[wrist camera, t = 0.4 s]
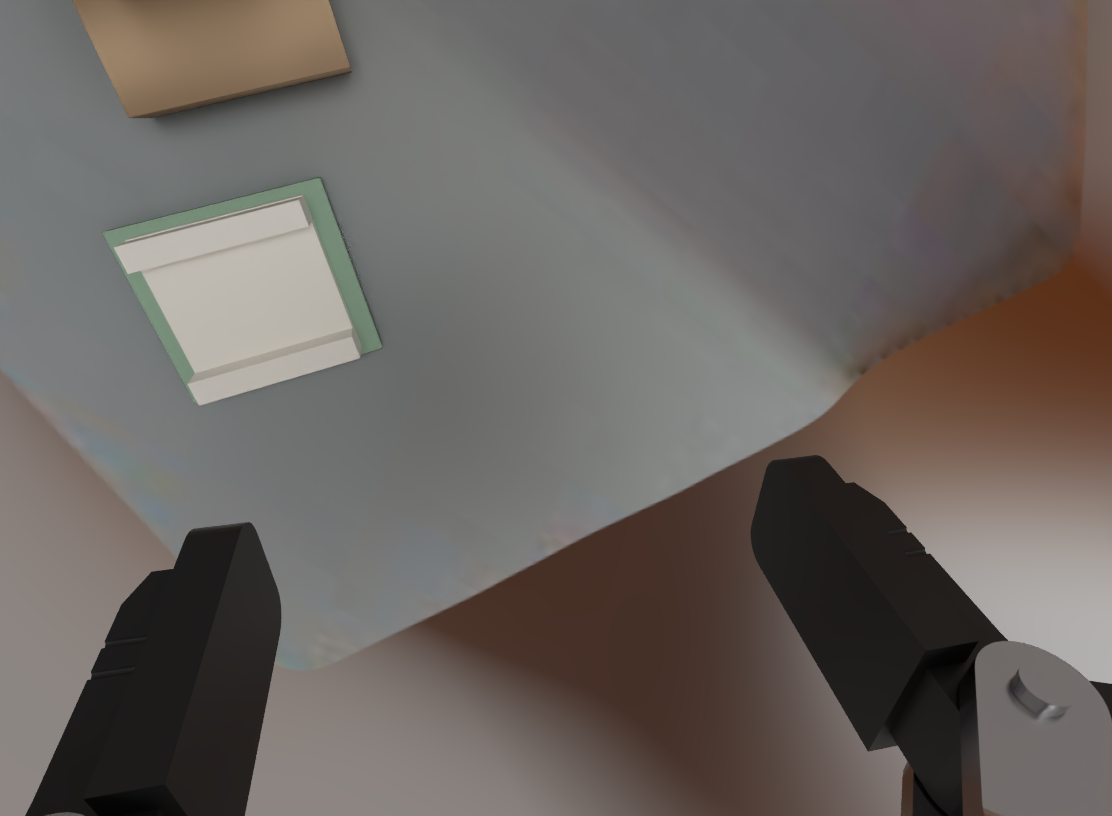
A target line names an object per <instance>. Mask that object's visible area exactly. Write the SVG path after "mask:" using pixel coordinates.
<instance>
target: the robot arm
mask: <svg viewBox="0 0 1112 816" xmlns="http://www.w3.org/2000/svg"><path fill="white" fill-rule="evenodd" d="M906 528H907V527H906V526H905V525H904V524H903V523H902V522H901V521H900V519H898V517H897V516H896V515H895V514H894V513H893V511H892V510H891V509H890V508H889V507H888V506H887V505H886V504H885V503H884V502H883V501H881V500H880V499H878V498H877V497H875V496H874V495H872V494H871V493H869V492H868V491H866V490H865V489H863V488H862V487H860V486H859V485H857V484H856V483H853V482H852V483H845V482H844V481H843V480H842V478H841V477H840V476H839V475H838V474H837V473H836V471H835V470H834V469H833V468H832V467H831V466H830V464H829V463H828V462H827V461H826V460H825V459H824V458H822V457H821V456H818V455H813V456H805V457H797V458H788V459H781V460H773V461H772V462H770V463H769V465H768V466H767V469H766V472H765V475H764V480H763V483H762V487H761V491H760V495H759V499H758V502H757V506H756V510H755V514H754V518H753V521H752V526H751V543H752V548H753V552H754V555H755V558H756V560H757V562H758V564H759V566H760V568H761V570H762V571H763V573H764V575H765V576H766V578H767V580H768V582H769V583H770V585H771V586H772V588H773V590H774V592H775V593H776V595H777V597H778V599H779V600H780V602H781V604H782V605H783V607H784V609H785V611H786V612H787V614H788V615H789V617H790V619H791V621H792V622H793V624H794V626H795V628H796V629H797V631H798V633H799V634H800V636H801V638H802V640H803V641H804V643H805V645H806V646H807V648H808V650H809V651H810V653H811V655H812V657H813V658H814V660H815V662H816V663H817V665H818V667H819V668H820V670H821V672H822V674H823V675H824V677H825V679H826V680H827V682H828V684H829V686H830V687H831V689H832V690H833V692H834V694H835V696H836V698H837V699H838V701H839V703H840V704H841V706H842V708H843V709H844V711H845V713H846V715H847V716H848V718H849V720H850V721H851V723H852V725H853V727H854V728H855V730H856V732H857V733H858V735H859V737H860V739H861V740H862V742H863V744H864V745H865V747H866V749H867V750H868V751H873V750H878V749H883V748H887V747H892V746H897V745H898V746H899V748H900V750H901V751H902V753H903V755H904V756H905V758H906V759H907V761H908V762H907V763H906V765H905V768H904V770H903V777H902V799H901V816H1112V684H1108V683H1101V682H1094V681H1088V680H1087V679H1086V678H1085V677H1084V676H1083V675H1082V674H1081V673H1080V672H1078V671H1077V670H1076V669H1075V668H1073V667H1072V666H1071V665H1069V664H1068V663H1067V662H1065V661H1063V660H1062V659H1060V658H1059V657H1057V656H1055V655H1053V654H1051V653H1049V652H1047V651H1045V650H1042V649H1040V648H1038V647H1035V646H1032V645H1028V644H1025V643H1020V642H1014V641H1008V640H1007V639H1006V638H1005V637H1004V636H1003V635H1002V634H1001V633H1000V632H999V631H998V630H997V628H996V627H995V626H994V625H993V624H992V623H991V622H990V621H989V619H988V618H987V617H986V616H985V615H984V614H983V613H982V612H981V611H980V609H979V608H978V607H977V606H976V605H975V604H974V603H973V601H972V600H971V599H970V598H969V597H968V596H967V595H966V594H965V592H964V591H963V590H962V589H961V588H960V587H959V586H958V585H957V584H956V582H955V581H954V580H953V579H952V578H951V577H950V576H949V575H948V573H947V572H946V571H945V570H944V569H943V568H942V567H941V565H940V564H939V563H938V562H937V561H936V560H935V559H934V558H933V557H932V555H931V554H926V552H925V547H924V546H923V545H922V544H921V543H920V542H919V541H918V540H917V539H916V537H915V536H914V535H913V534H912V533H908V532H907V530H906ZM280 629H281V603H280V596H279V592H278V589H277V586H276V583H275V580H274V578H273V575H272V572H271V570H270V567H269V564H268V561H267V559H266V556H265V553H264V551H263V548H262V545H261V542H260V540H259V537H258V534H257V532H256V529H255V528H254V526H253V525H252V524H251V523H249V522H246V523H238V524H230V525H221V526H213V527H205V528H197V529H193V530H191V531H190V532H189V533H188V535H187V536H186V538H185V541H184V543H183V546H182V548H181V551H180V553H179V556H178V558H177V561H176V564H175V566H174V569H169V570H162V571H154V572H151V573H150V574H149V575H148V576H147V577H146V579H145V580H144V581H143V582H142V583H141V584H140V585H139V586H138V587H137V588H136V589H135V591H134V592H133V593H132V594H131V595H130V596H129V597H128V598H127V599H126V600H125V601H124V602H123V604H122V605H121V607H120V609H119V611H118V613H117V615H116V618H115V620H114V622H113V624H112V627H111V629H110V631H109V633H108V635H107V638H106V640H105V644H106V645H105V648H103V649H101V651H100V653H99V655H98V658H97V660H96V662H95V664H94V666H93V669H92V671H91V674H92V677H91V680H87V682H86V684H85V686H84V689H83V691H82V693H81V695H80V697H79V700H78V702H77V704H76V707H75V709H74V711H73V713H72V715H71V718H70V720H69V722H68V724H67V727H66V729H65V731H64V733H63V735H62V738H61V740H60V742H59V744H58V746H57V748H56V751H55V753H54V755H53V758H52V760H51V762H50V764H49V766H48V769H47V771H46V773H45V775H44V777H43V780H42V782H41V784H40V786H39V788H38V791H37V793H36V795H35V797H34V799H33V802H32V804H31V805H30V807H29V809H28V811H27V813H26V815H25V816H245V811H246V806H247V801H248V795H249V791H250V786H251V780H252V775H253V770H254V765H255V760H256V754H257V749H258V744H259V739H260V733H261V728H262V724H263V718H264V713H265V708H266V703H267V697H268V692H269V687H270V682H271V677H272V672H273V667H274V662H275V656H276V651H277V646H278V641H279V636H280Z"/></svg>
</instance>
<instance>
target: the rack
mask: <svg viewBox="0 0 1112 816" xmlns="http://www.w3.org/2000/svg"><path fill="white" fill-rule="evenodd" d="M114 249H115V251H116V253H117V255H118V257H119V259H120V260H121V262H122V264H123V266H124V268H125V270H126V271H127V273H128V274H130V273H134V272H138V271H141V272H142V274H143V276H144V278H145V280H146V282H147V284H148V285H149V287H150V289H151V291H152V293H153V295H154V297H155V299H156V301H157V302H158V304H159V306H160V308H161V310H162V312H163V314H164V316H165V318H166V320H167V321H168V323H169V325H170V327H171V329H172V331H173V333H174V335H175V337H176V338H177V340H178V342H179V344H180V346H181V348H182V350H183V352H184V354H185V355H186V357H187V359H188V361H189V363H190V365H191V367H192V369H193V371H194V372H195V374H194V375H193V377H192V378H191V380H190V381H189V383H188V384H187V385H188V386H189V388H190V390H191V392H192V394H193V396H194V398H195V399H196V401H197V403H198V405H199V406H200V405H204V404H207V403H210V402H214V401H217V400H221V399H224V398H227V397H231V396H234V395H237V394H241V393H244V392H248V391H251V390H254V389H258V388H261V387H264V386H268V385H271V384H275V383H278V382H281V381H285V380H288V379H292V378H295V377H298V376H302V375H305V374H308V373H312V372H315V371H319V370H322V369H325V368H329V367H332V366H335V365H339V364H342V363H346V362H349V361H352V360H356V359H359V358H360V353H361V343H360V341H359V338H358V335H357V333H356V330H355V328H354V325H353V322H352V320H351V317H350V315H349V312H348V309H347V307H346V304H345V302H344V299H343V296H342V294H341V291H340V289H339V286H338V283H337V281H336V278H335V276H334V273H333V270H332V268H331V265H330V263H329V260H328V257H327V255H326V252H325V250H324V247H323V244H322V242H321V239H320V237H319V234H318V231H317V229H316V226H315V224H314V221H313V218H312V216H311V213H310V211H309V208H308V205H307V203H306V200H305V198H304V195H303V194H300V195H296V196H292V197H288V198H284V199H280V200H276V201H272V202H268V203H264V204H260V205H256V206H253V207H249V208H245V209H241V210H237V211H233V212H229V213H225V214H221V215H217V216H213V217H209V218H206V219H202V220H198V221H194V222H190V223H186V224H182V225H178V226H174V227H170V228H166V229H162V230H159V231H155V232H151V233H147V234H143V235H139V236H135V237H131V238H129V239H127V240H125V242H123V243H121V244H119V245H117V246H115V247H114Z"/></svg>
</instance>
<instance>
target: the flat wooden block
mask: <svg viewBox="0 0 1112 816" xmlns="http://www.w3.org/2000/svg"><path fill="white" fill-rule="evenodd" d="M72 1H73V3H74V5H75V7H76V10H77V12H78V14H79V16H80V18H81V20H82V22H83V24H84V26H85V28H86V30H87V32H88V34H89V37H90V39H91V41H92V43H93V45H94V47H95V49H96V51H97V53H98V55H99V57H100V59H101V61H102V63H103V66H104V68H105V70H106V72H107V74H108V76H109V78H110V80H111V82H112V84H113V86H114V88H115V90H116V92H117V95H118V97H119V99H120V101H121V103H122V105H123V107H124V109H125V111H126V113H127V115H128V117H129V118H153V117H158V116H162V115H166V114H171V113H175V112H180V111H184V110H188V109H193V108H197V107H201V106H206V105H210V104H214V103H219V102H223V101H227V100H232V99H236V98H240V97H245V96H249V95H253V94H258V93H262V92H266V91H271V90H275V89H279V88H284V87H288V86H292V85H297V84H301V83H305V82H310V81H314V80H318V79H323V78H327V77H331V76H336V75H340V74H344V73H349V72H352V71H351V68H350V65H349V61H348V58H347V55H346V52H345V49H344V46H343V43H342V40H341V37H340V34H339V30H338V27H337V24H336V21H335V18H334V15H333V12H332V9H331V6H330V2H329V0H72Z"/></svg>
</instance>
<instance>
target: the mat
mask: <svg viewBox="0 0 1112 816" xmlns="http://www.w3.org/2000/svg"><path fill="white" fill-rule="evenodd" d="M300 194H303V195H304V198H305V200H306V203H307V205H308V208H309V211H310V213H311V216H312V218H313V221H314V224H315V226H316V229H317V231H318V234H319V237H320V239H321V242H322V244H323V247H324V250H325V252H326V255H327V257H328V260H329V263H330V265H331V268H332V270H333V273H334V276H335V278H336V281H337V283H338V286H339V289H340V291H341V294H342V296H343V299H344V302H345V304H346V307H347V309H348V312H349V315H350V317H351V320H352V322H353V325H354V328H355V330H356V333H357V335H358V338H359V341H360V343H361V353H360V354H364V353H367V352H370V351H374V350H377V349H381V348H382V343H381V341H380V338H379V335H378V333H377V330H376V327H375V324H374V322H373V319H372V316H371V314H370V311H369V308H368V305H367V303H366V300H365V297H364V295H363V292H362V289H361V286H360V284H359V281H358V278H357V276H356V273H355V270H354V267H353V265H352V262H351V259H350V257H349V254H348V251H347V248H346V246H345V243H344V240H343V238H342V235H341V232H340V229H339V227H338V224H337V221H336V219H335V216H334V213H333V210H332V208H331V205H330V202H329V200H328V197H327V194H326V191H325V189H324V186H323V183H322V181H321V178H320V177H318V178H315V179H311V180H307V181H303V182H299V183H295V184H291V185H287V186H283V187H279V188H275V189H271V190H267V191H263V192H259V193H255V194H251V195H247V196H243V197H239V198H235V199H231V200H227V201H223V202H219V203H215V204H212V205H208V206H204V207H200V208H196V209H192V210H188V211H184V212H180V213H176V214H172V215H168V216H164V217H160V218H156V219H152V220H148V221H144V222H140V223H136V224H132V225H128V226H124V227H120V228H116V229H113V230H109V231H105V232H103V235H104V237H105V239H106V240H107V242H108V244H109V246H110V248H111V250H112V251H113V253H114V255H115V257H116V259H117V261H118V263H119V264H120V266H121V268H122V270H123V272H124V274H125V275H126V277H127V279H128V281H129V283H130V285H131V287H132V288H133V290H134V292H135V294H136V296H137V298H138V299H139V301H140V303H141V305H142V307H143V309H144V310H145V312H146V314H147V316H148V318H149V320H150V322H151V323H152V325H153V327H154V329H155V331H156V333H157V334H158V336H159V338H160V340H161V342H162V344H163V346H164V347H165V349H166V351H167V353H168V355H169V357H170V358H171V360H172V362H173V364H174V366H175V368H176V370H177V371H178V373H179V375H180V377H181V379H182V381H183V382H184V384H185V386H186V388H187V390H188V392H189V394H190V395H191V397H192V399H193V401H194V403H197V401H196V399H195V398H194V396H193V394H192V392H191V390H190V388H189V386H188V385H187V384H188V383H189V381H190V380H191V378H192V377H193V375H194V374H195V372H194V371H193V369H192V367H191V365H190V363H189V361H188V359H187V357H186V355H185V354H184V352H183V350H182V348H181V346H180V344H179V342H178V340H177V338H176V337H175V335H174V333H173V331H172V329H171V327H170V325H169V323H168V321H167V320H166V318H165V316H164V314H163V312H162V310H161V308H160V306H159V304H158V302H157V301H156V299H155V297H154V295H153V293H152V291H151V289H150V287H149V285H148V284H147V282H146V280H145V278H144V276H143V274H142V272H141V271H138V272H134V273H130V274H128V273H127V271H126V270H125V268H124V266H123V264H122V262H121V260H120V259H119V257H118V255H117V253H116V251H115V249H114V247H115V246H117V245H119V244H121V243H123V242H125V240H127V239H129V238H131V237H135V236H139V235H143V234H147V233H151V232H155V231H159V230H162V229H166V228H170V227H174V226H178V225H182V224H186V223H190V222H194V221H198V220H202V219H206V218H209V217H213V216H217V215H221V214H225V213H229V212H233V211H237V210H241V209H245V208H249V207H253V206H256V205H260V204H264V203H268V202H272V201H276V200H280V199H284V198H288V197H292V196H296V195H300Z"/></svg>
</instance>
